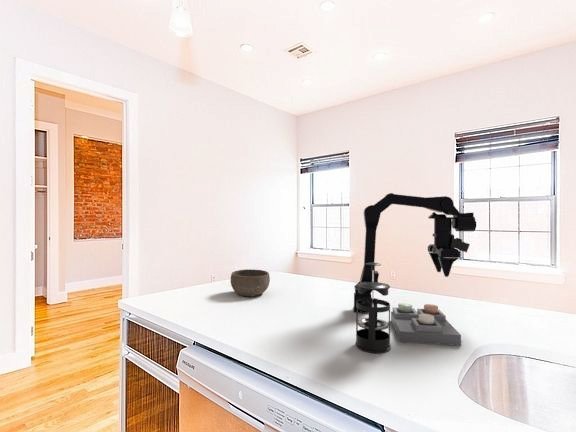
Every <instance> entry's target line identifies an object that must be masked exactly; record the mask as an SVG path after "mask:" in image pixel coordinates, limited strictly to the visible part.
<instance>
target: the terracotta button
mask: <svg viewBox="0 0 576 432" xmlns="http://www.w3.org/2000/svg"><path fill="white" fill-rule="evenodd" d="M423 309H424V312H426V313H432V314H436V313H438V310H439V306H438V305H435V304H429V303H428V304H427V303H425V304H424V305H423Z"/></svg>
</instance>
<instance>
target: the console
mask: <svg viewBox="0 0 576 432" xmlns="http://www.w3.org/2000/svg"><path fill="white" fill-rule="evenodd" d="M419 314H430V315H433V316H434V324H423V323H420V322H419ZM446 318H447V317H446V315H445V314H444V313H443V312H442V311H441V310H440V309H438V313H436V314H432V313H426V312H424V308H417V309H415V307H412V312H402V311H399V310H398V307H392V311H390V322H391V323H392V325H393V326H392V327H393V328H394V330H395V333H396V335H397V336H398V339H399V342H400V343H411V344H412V343H415V344H426V345H427V344H429V345H441V344H443V345H444V346H456V345H460V347H461V346H462V335H461V333H460V332H459V331H458V330H457V329H456V328H455V327H454V326H453V325H452V324H451V322H449V321H448V320H447V319H446ZM443 345H442V346H443Z"/></svg>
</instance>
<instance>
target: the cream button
mask: <svg viewBox="0 0 576 432" xmlns="http://www.w3.org/2000/svg"><path fill="white" fill-rule="evenodd" d="M419 322H420V323H423V324H434V316H433V315H430V314H419Z"/></svg>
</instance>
